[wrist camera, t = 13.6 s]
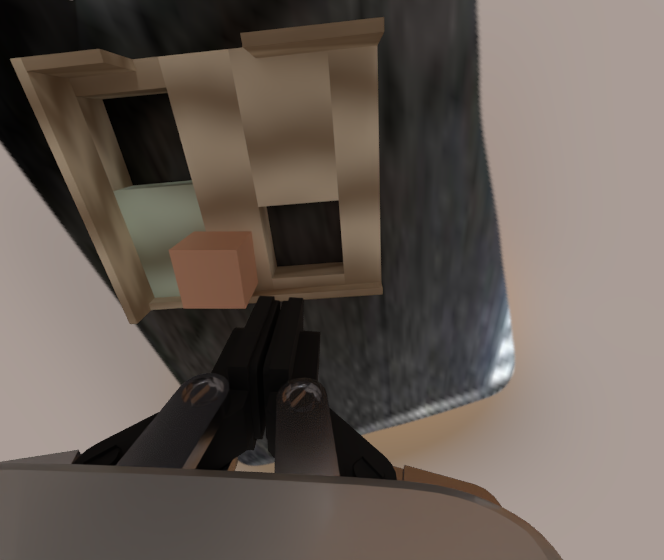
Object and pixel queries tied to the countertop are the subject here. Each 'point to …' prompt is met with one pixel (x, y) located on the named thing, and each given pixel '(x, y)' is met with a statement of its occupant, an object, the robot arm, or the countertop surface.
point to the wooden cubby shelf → (225, 154)
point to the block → (215, 269)
